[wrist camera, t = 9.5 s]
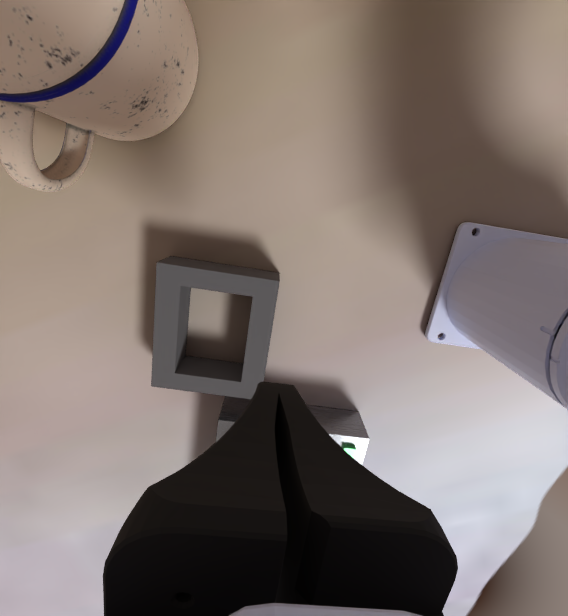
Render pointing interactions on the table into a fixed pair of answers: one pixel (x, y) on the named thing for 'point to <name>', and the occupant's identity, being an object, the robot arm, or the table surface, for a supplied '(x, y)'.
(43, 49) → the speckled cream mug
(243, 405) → the port
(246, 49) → the table surface
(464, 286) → the robot arm
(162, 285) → the grey hollow square frame
